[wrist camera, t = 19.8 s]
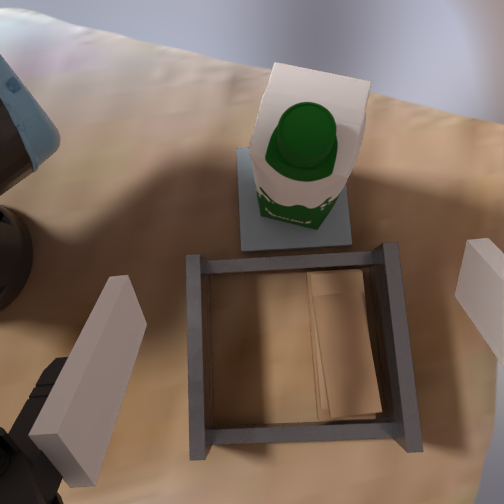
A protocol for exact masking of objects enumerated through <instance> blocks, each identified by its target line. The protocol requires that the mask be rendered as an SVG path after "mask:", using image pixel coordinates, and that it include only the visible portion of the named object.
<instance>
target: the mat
mask: <svg viewBox="0 0 504 504" xmlns="http://www.w3.org/2000/svg"><path fill="white" fill-rule="evenodd" d="M236 150H237V172H238V193H239V215H240V236H241V252H259V251H275V250H292V249H309V248H326V247H342V246H351V245H352V236H351V227H350V217H349V207H348V197H347V187H346V184H345V186H344V187H343V189H342V191H341V193H340V195H339V197H338V199H337V201H336V203H335V204H334V206H333V208H332V210H331V211H330V213H329V214H328V216H327V217H326V218H325V220H324V221H323V223H322V224H321V225H320V227H319V228H318V230H315V229H311V228H307V227H303V226H299V225H295V224H291V223H286V222H282V221H278V220H274V219H270V218H266V217H262V216H261V215H260V209H259V204H258V199H257V194H256V186H255V179H254V171H253V164H252V159H251V158H250V156H249V153H248V151H249V147H247V148H236Z"/></svg>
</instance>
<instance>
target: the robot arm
mask: <svg viewBox="0 0 504 504" xmlns="http://www.w3.org/2000/svg"><path fill="white" fill-rule="evenodd" d="M59 145H60V134H59V131H58V129H57V128H56V126H55V125H54V124H53V122H52V121H51V120H50V118H49V117H48V116H47V114H46V113H45V112H44V110H43V109H42V108H41V107H40V105H39V104H38V103H37V101H36V100H35V99H34V97H33V96H32V95H31V93H30V92H29V91H28V90H27V88H26V87H25V86H24V84H23V83H22V82H21V80H20V79H19V78H18V77H17V75H16V74H15V73H14V71H13V70H12V69H11V68H10V66H9V65H8V64H7V62H6V61H5V60H4V58H3V57H2V56H1V55H0V196H1V195H2V194H3V193H5V192H6V191H8V190H9V189H10V188H12V187H13V186H14V185H16V184H17V183H19V182H20V181H21V180H23V179H24V178H26V177H27V176H28V175H30V174H31V173H33V172H35V171H37V169H38V166H39V165H41V164H42V163H43V162H44V161H45V160H46V159H48V158H49V157H50V156H51V155H52V154H53V153H55V152H56V151H57V149H58V148H59ZM31 263H32V244H31V239H30V236H29V233H28V231H27V229H26V227H25V225H24V224H23V222H22V221H21V220H20V218H19V217H18V216H17V215H16V214H14V213H13V212H12V211H10V210H9V209H7V208H5V207H3V206H1V205H0V311H1V310H3V309H4V308H5V307H6V306H8V305H9V304H10V303H11V302H12V301H13V300H14V299H15V298H16V296H17V295H18V294H19V292H20V291H21V289H22V288H23V286H24V284H25V282H26V280H27V278H28V275H29V272H30V268H31ZM455 297H456V299H457V300H458V302H459V303H460V305H461V306H462V308H463V309H464V310H465V312H466V313H467V315H468V316H469V318H470V319H471V321H472V322H473V324H474V325H475V327H476V328H477V329H478V331H479V332H480V334H481V335H482V337H483V338H484V340H485V341H486V343H487V344H488V345H489V347H490V348H491V350H492V351H493V353H494V354H495V356H496V357H497V359H498V360H499V361H500V363H501V364H502V366H503V367H504V253H503V252H502V251H501V250H500V249H499V248H498V247H497V246H496V245H495V244H494V243H493V242H492V241H491V240H490V239H489V238H481V239H472V240H467V242H466V247H465V251H464V256H463V260H462V265H461V269H460V273H459V278H458V282H457V287H456V291H455ZM146 327H147V323H146V320H145V318H144V315H143V312H142V310H141V307H140V305H139V302H138V299H137V297H136V294H135V292H134V289H133V286H132V284H131V281H130V278H129V276H128V275H121V276H111V277H109V279H108V281H107V283H106V285H105V286H104V288H103V290H102V292H101V294H100V296H99V298H98V300H97V302H96V304H95V306H94V308H93V310H92V312H91V314H90V316H89V318H88V320H87V322H86V324H85V326H84V327H83V329H82V331H81V333H80V335H79V337H78V339H77V341H76V343H75V345H74V347H73V349H72V351H71V353H70V355H69V357H62V358H56V359H55V360H54V361H53V362H52V363H51V364H50V365H49V366H48V367H47V368H46V369H45V370H44V371H43V373H42V374H41V376H40V378H39V380H38V382H37V383H36V387H35V388H34V389H33V390H32V392H31V394H30V396H29V399H27V401H26V403H25V405H24V407H23V408H22V410H21V412H20V414H19V415H18V417H17V419H16V421H15V423H14V424H13V426H12V428H11V430H10V432H9V433H7V432H6V431H5V430H4V429H3V428H1V427H0V504H63V501H62V498H61V496H60V495H59V493H58V492H57V491H58V488H59V486H60V483H61V480H62V478H63V479H64V481H65V482H66V483H67V484H68V486H69V487H70V488H74V487H89V486H96V482H97V479H98V476H99V473H100V470H101V467H102V464H103V461H104V457H105V454H106V451H107V448H108V445H109V442H110V439H111V436H112V433H113V429H114V426H115V423H116V420H117V417H118V414H119V411H120V408H121V404H122V401H123V398H124V395H125V392H126V389H127V386H128V383H129V380H130V376H131V373H132V370H133V367H134V364H135V361H136V358H137V355H138V351H139V348H140V345H141V342H142V339H143V336H144V333H145V330H146Z"/></svg>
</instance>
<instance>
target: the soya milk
mask: <svg viewBox="0 0 504 504" xmlns="http://www.w3.org/2000/svg"><path fill="white" fill-rule="evenodd" d="M370 87H371V82H370V81H365V80H360V79H356V78H351V77H345V76H341V75H336V74H331V73H326V72H321V71H316V70H311V69H306V68H301V67H296V66H291V65H286V64H281V63H277V62H275V63H274V66H273V69H272V72H271V76H270V79H269V83H268V86H267V90H265V92H264V94H263V97H262V99H261V103H260V106H259V110H258V115H257V119H256V123H255V126H254V130H253V134H252V137H251V141H250V146H249V151H248V153H249V156H250V158H251V159H252V164H253V171H254V179H255V186H256V194H257V199H258V204H259V209H260V215H261V216H262V217H266V218H270V219H274V220H278V221H282V222H286V223H291V224H295V225H299V226H303V227H307V228H311V229H315V230H318V228H319V227H320V225H321V224H322V223H323V221H324V220H325V218H326V217H327V216H328V214H329V213H330V211H331V210H332V208H333V206H334V204H335V203H336V201H337V199H338V197H339V195H340V193H341V191H342V189H343V187H344V186H345V184H346V182H347V180H348V178H349V176H350V174H351V171H352V170H353V168H354V166H355V163H356V161H357V157H358V154H359V150H360V146H361V143H362V139H363V135H364V130H365V123H366V112H365V111H366V106H367V101H368V97H369V92H370Z"/></svg>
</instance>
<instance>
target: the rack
mask: <svg viewBox="0 0 504 504" xmlns="http://www.w3.org/2000/svg"><path fill="white" fill-rule="evenodd" d="M357 266H370V272H371V282H372V291H373V300H374V309H375V319H376V328H377V337H378V346H379V356H380V365H381V374H382V383H383V392H384V402H385V411H386V419H377V420H352V421H327V422H302V423H277V424H252V425H227V426H214V401H213V368H212V336H211V304H210V275H218V274H235V273H253V272H270V271H288V270H305V269H322V268H340V267H357ZM186 296H187V347H188V398H189V449H190V460H205V459H206V457H207V455H208V453H209V451H210V449H211V447H212V445H219V444H245V443H272V442H298V441H325V440H351V439H378V438H393V439H394V440H395V441H396V442H397V443H398V444H399V445H400V446H401V447H402V448H403V449H404V450H405V451H406V452H407V453H412V452H423V444H422V435H421V427H420V419H419V411H418V403H417V395H416V387H415V379H414V370H413V362H412V354H411V346H410V338H409V330H408V322H407V314H406V306H405V297H404V289H403V281H402V273H401V265H400V257H399V249H398V242H392V243H382V244H381V245H379V246H378V247H377V248H375V249H374V250H372V251H363V252H346V253H329V254H312V255H295V256H278V257H261V258H244V259H228V260H211V261H207V260H206V259H205V258H204V257H202V256H201V255H200V254H193V255H186Z"/></svg>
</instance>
